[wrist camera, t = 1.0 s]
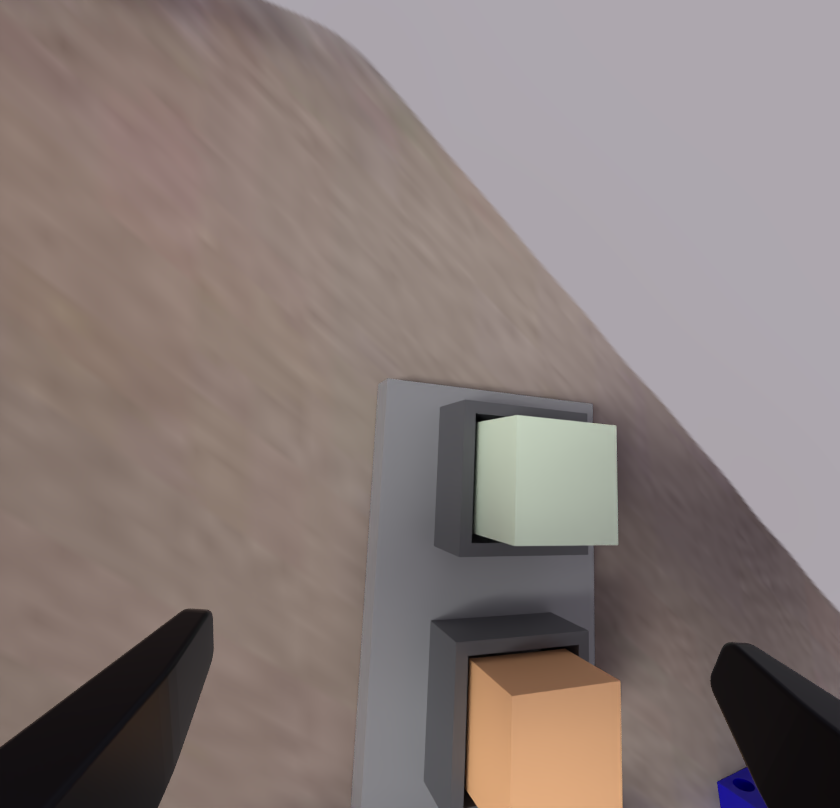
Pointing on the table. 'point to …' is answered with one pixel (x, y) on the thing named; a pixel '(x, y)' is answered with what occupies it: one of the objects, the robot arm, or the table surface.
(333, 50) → the table surface
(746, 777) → the cable holder
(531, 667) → the terracotta button
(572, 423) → the sage button
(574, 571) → the button panel
